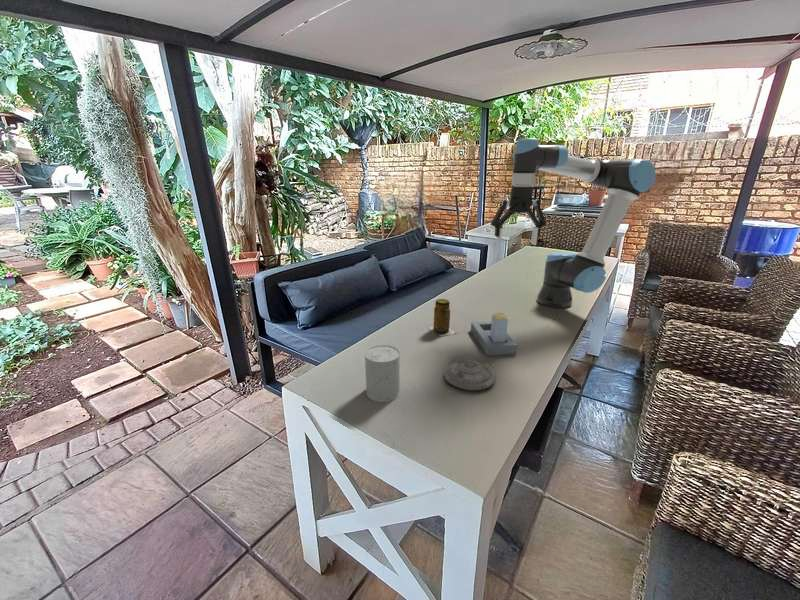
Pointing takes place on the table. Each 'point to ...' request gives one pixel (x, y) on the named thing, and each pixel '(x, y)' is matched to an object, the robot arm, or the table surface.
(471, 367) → the flying saucer
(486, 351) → the panel
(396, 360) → the pale grey cylinder
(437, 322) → the condiment
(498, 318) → the plug
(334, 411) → the table surface
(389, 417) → the table surface
